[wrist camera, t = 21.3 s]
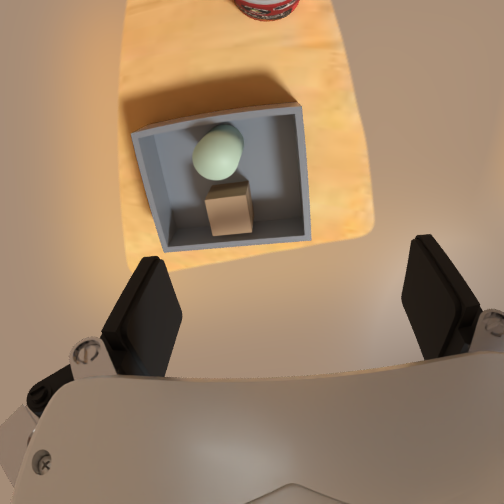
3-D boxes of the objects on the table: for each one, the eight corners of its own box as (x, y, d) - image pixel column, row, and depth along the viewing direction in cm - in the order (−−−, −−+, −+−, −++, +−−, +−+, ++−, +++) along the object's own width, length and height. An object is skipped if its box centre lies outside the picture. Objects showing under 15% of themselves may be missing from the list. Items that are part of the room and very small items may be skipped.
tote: (147, 124, 37) (130, 133, 32) (297, 101, 35) (301, 106, 30) (174, 232, 46) (163, 252, 41) (307, 220, 43) (311, 240, 39)
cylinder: (202, 127, 36) (188, 139, 31) (241, 122, 36) (235, 133, 30) (208, 163, 39) (196, 182, 33) (246, 159, 39) (241, 177, 33)
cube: (211, 185, 41) (204, 200, 37) (248, 180, 40) (245, 195, 36) (218, 218, 43) (212, 236, 39) (254, 214, 43) (251, 232, 39)
